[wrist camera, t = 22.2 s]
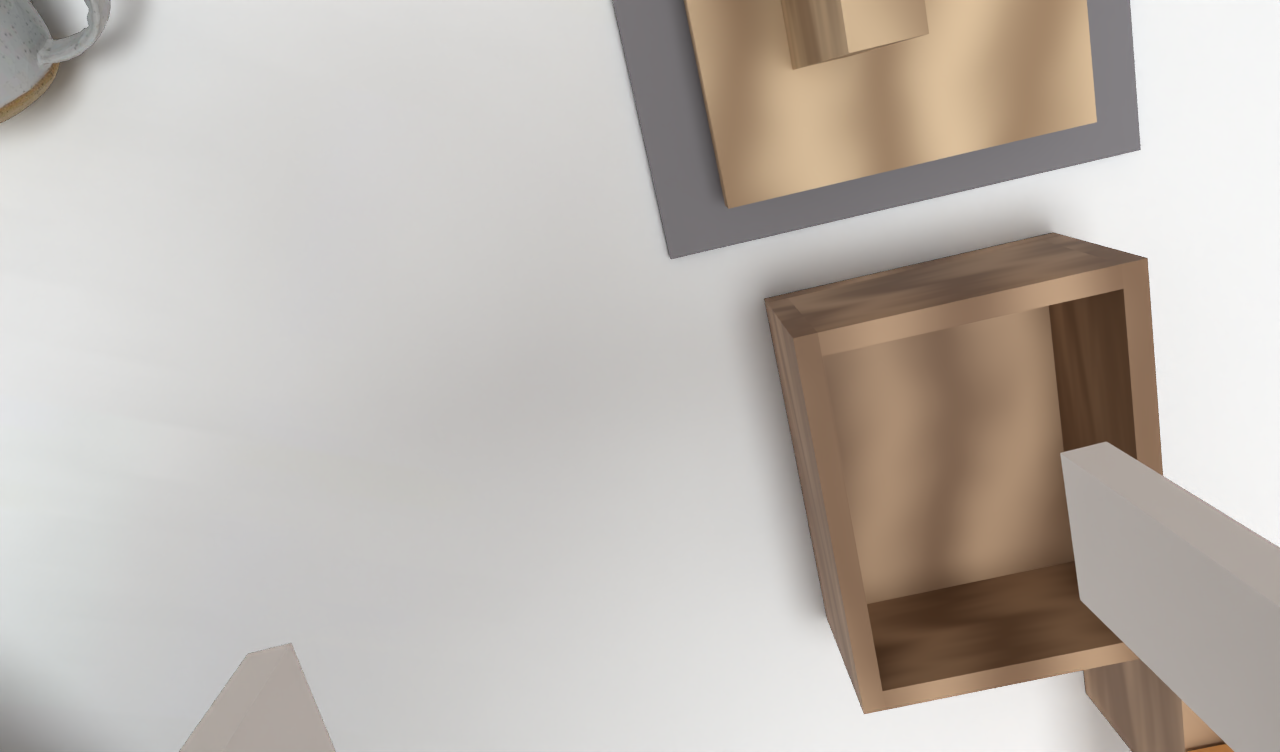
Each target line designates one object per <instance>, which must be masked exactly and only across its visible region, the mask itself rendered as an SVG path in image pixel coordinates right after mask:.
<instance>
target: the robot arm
mask: <svg viewBox="0 0 1280 752" xmlns="http://www.w3.org/2000/svg"><path fill="white" fill-rule="evenodd" d="M1060 455H1061V462H1062V470H1063V477H1064V484H1065V492H1066V499H1067V507H1068V514H1069V522H1070V529H1071V536H1072V544H1073V551H1074V559H1075V566H1076V573H1077V581H1078V588H1079V596H1080V600H1081V601H1082V602H1083V603H1084V604H1085V605H1086V606H1087V607H1088V608H1089V609H1090V610H1091V611H1092V612H1093V613H1094V614H1095V615H1096V616H1097V617H1098V618H1099V619H1100V620H1101V621H1102V622H1103V623H1104V624H1105V625H1106V626H1107V627H1108V628H1109V629H1110V630H1111V631H1112V632H1113V633H1114V634H1115V635H1116V636H1117V637H1118V638H1119V639H1120V640H1121V641H1123V642H1124V643H1125V644H1126V645H1127V646H1128V647H1129V648H1130V649H1131V650H1132V651H1133V652H1134V653H1135V654H1136V655H1137V656H1138V657H1139V658H1140V659H1141V660H1142V661H1143V662H1144V663H1145V664H1146V665H1147V666H1148V667H1149V668H1150V669H1151V670H1152V671H1153V672H1154V673H1155V674H1156V675H1157V676H1158V677H1159V678H1160V679H1161V680H1162V681H1163V682H1164V683H1165V684H1166V685H1167V686H1168V687H1169V688H1170V689H1171V690H1172V691H1173V692H1174V693H1175V694H1176V695H1177V696H1178V697H1179V698H1180V699H1181V700H1182V701H1183V702H1184V703H1185V704H1186V705H1187V706H1188V707H1190V708H1191V709H1192V710H1193V711H1194V712H1195V713H1196V714H1197V715H1198V716H1199V717H1200V718H1201V719H1202V720H1203V721H1204V722H1205V723H1206V724H1207V725H1208V726H1209V727H1210V728H1211V729H1212V730H1213V731H1214V732H1215V733H1216V734H1217V735H1218V736H1219V737H1220V738H1221V739H1222V740H1223V741H1224V742H1225V743H1226V744H1227V745H1228V746H1229V747H1230V748H1231V749H1232V750H1233V751H1234V752H1280V548H1279V547H1278V546H1276V545H1275V544H1273V543H1271V542H1270V541H1268V540H1266V539H1265V538H1263V537H1261V536H1260V535H1258V534H1257V533H1255V532H1253V531H1252V530H1250V529H1248V528H1247V527H1245V526H1244V525H1242V524H1240V523H1239V522H1237V521H1235V520H1234V519H1232V518H1231V517H1229V516H1227V515H1226V514H1224V513H1222V512H1221V511H1219V510H1217V509H1216V508H1214V507H1213V506H1211V505H1209V504H1208V503H1206V502H1204V501H1203V500H1201V499H1200V498H1198V497H1196V496H1195V495H1193V494H1191V493H1190V492H1188V491H1187V490H1185V489H1183V488H1182V487H1180V486H1178V485H1177V484H1175V483H1173V482H1172V481H1170V480H1169V479H1167V478H1165V477H1164V476H1162V475H1160V474H1159V473H1157V472H1156V471H1154V470H1152V469H1151V468H1149V467H1147V466H1146V465H1144V464H1142V463H1141V462H1139V461H1138V460H1136V459H1134V458H1133V457H1131V456H1129V455H1128V454H1126V453H1125V452H1123V451H1121V450H1120V449H1118V448H1116V447H1115V446H1113V445H1112V444H1110V443H1108V442H1107V441H1106V442H1102V443H1098V444H1094V445H1090V446H1086V447H1082V448H1078V449H1074V450H1070V451H1066V452H1062V453H1060ZM179 752H335V749H334V747H333V744H332V742H331V739H330V737H329V734H328V732H327V729H326V727H325V725H324V722H323V720H322V717H321V715H320V712H319V710H318V707H317V705H316V703H315V700H314V698H313V695H312V693H311V690H310V688H309V685H308V683H307V681H306V678H305V676H304V673H303V671H302V668H301V666H300V663H299V661H298V658H297V656H296V654H295V651H294V649H293V646H292V644H291V643H289V644H285V645H281V646H277V647H273V648H269V649H265V650H261V651H257V652H253V653H249V654H247V655H246V657H245V658H244V660H243V661H242V663H241V664H240V665H239V667H238V668H237V670H236V671H235V673H234V674H233V675H232V677H231V678H230V680H229V681H228V683H227V684H226V685H225V687H224V688H223V690H222V691H221V693H220V694H219V695H218V697H217V698H216V700H215V701H214V702H213V704H212V705H211V707H210V708H209V710H208V711H207V712H206V714H205V715H204V717H203V718H202V720H201V721H200V722H199V724H198V725H197V727H196V728H195V730H194V731H193V732H192V734H191V735H190V737H189V738H188V740H187V741H186V742H185V744H184V745H183V747H182V748H181V750H180V751H179Z"/></svg>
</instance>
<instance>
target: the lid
mask: <svg viewBox="0 0 1280 752" xmlns="http://www.w3.org/2000/svg"><path fill="white" fill-rule="evenodd" d="M684 5H685V10H686V15H687V20H688V25H689V29H690V34H691V39H692V44H693V49H694V54H695V59H696V64H697V69H698V74H699V79H700V84H701V89H702V94H703V98H704V103H705V108H706V113H707V118H708V123H709V128H710V133H711V138H712V143H713V148H714V153H715V158H716V163H717V167H718V172H719V177H720V182H721V187H722V192H723V197H724V202H725V206H726V207H727V208H728V209H730V208H734V207H738V206H742V205H747V204H751V203H755V202H759V201H764V200H768V199H772V198H776V197H781V196H785V195H789V194H793V193H798V192H802V191H806V190H810V189H815V188H819V187H823V186H827V185H832V184H836V183H840V182H844V181H849V180H853V179H857V178H861V177H866V176H870V175H874V174H878V173H883V172H887V171H891V170H895V169H900V168H904V167H908V166H912V165H917V164H921V163H925V162H929V161H934V160H938V159H942V158H946V157H951V156H955V155H959V154H963V153H968V152H972V151H976V150H980V149H985V148H989V147H993V146H997V145H1002V144H1006V143H1010V142H1014V141H1019V140H1023V139H1027V138H1031V137H1036V136H1040V135H1044V134H1048V133H1053V132H1057V131H1061V130H1065V129H1070V128H1074V127H1078V126H1082V125H1087V124H1091V123H1095V122H1097V117H1096V105H1095V93H1094V81H1093V69H1092V57H1091V45H1090V33H1089V21H1088V9H1087V0H684Z"/></svg>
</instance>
